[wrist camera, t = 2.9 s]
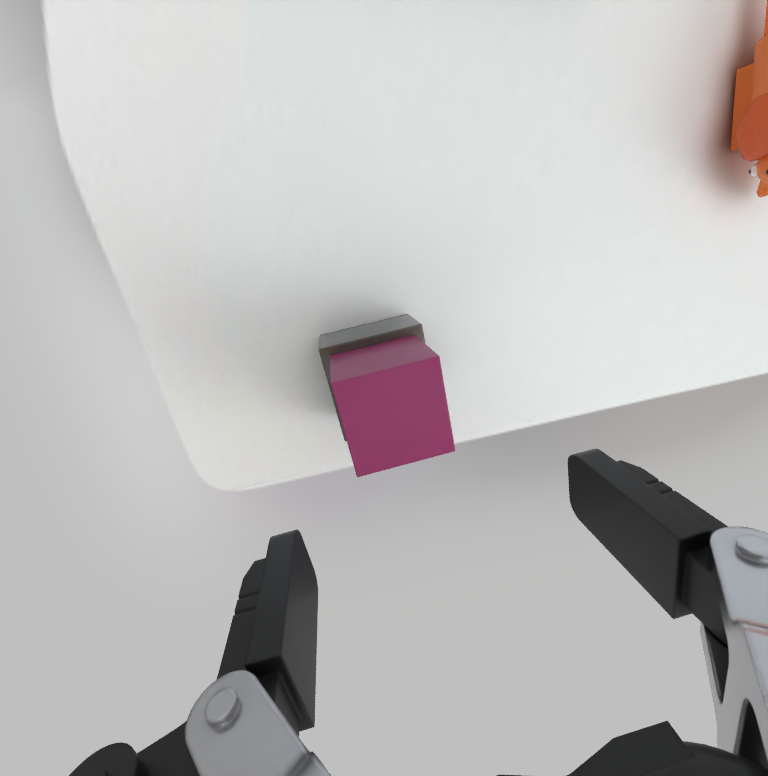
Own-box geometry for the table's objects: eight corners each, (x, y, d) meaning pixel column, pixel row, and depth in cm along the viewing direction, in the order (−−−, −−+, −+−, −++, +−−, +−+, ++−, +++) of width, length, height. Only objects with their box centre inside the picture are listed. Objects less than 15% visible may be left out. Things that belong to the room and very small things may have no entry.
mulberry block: (350, 432, 23) (357, 477, 19) (329, 355, 21) (330, 383, 17) (429, 412, 24) (455, 451, 19) (415, 334, 22) (439, 355, 17)
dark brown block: (342, 416, 27) (344, 442, 23) (319, 335, 25) (318, 349, 21) (423, 395, 27) (438, 417, 24) (407, 313, 25) (421, 323, 22)
